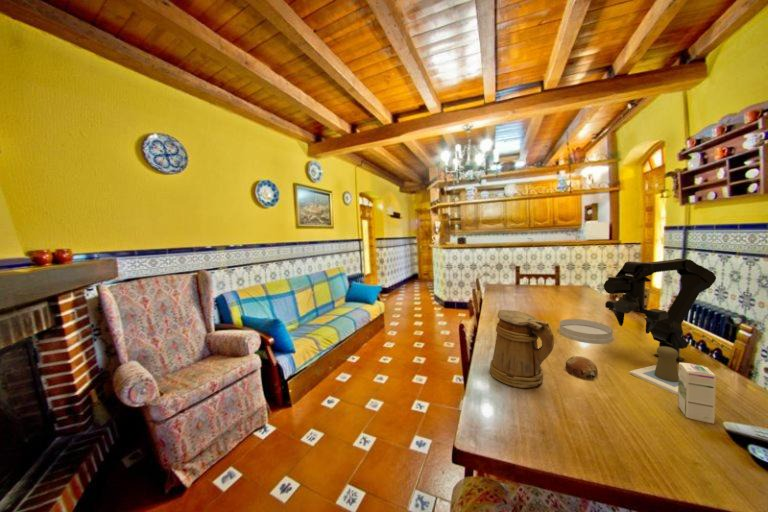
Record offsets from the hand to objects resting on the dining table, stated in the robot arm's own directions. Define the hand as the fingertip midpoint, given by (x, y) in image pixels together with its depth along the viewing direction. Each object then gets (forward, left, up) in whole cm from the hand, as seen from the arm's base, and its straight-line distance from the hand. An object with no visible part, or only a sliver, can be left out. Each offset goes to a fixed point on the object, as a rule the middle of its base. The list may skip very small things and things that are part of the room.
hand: (633, 329), depth 107 cm
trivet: (+6, +14, -13) cm, 20 cm away
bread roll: (+28, +1, -13) cm, 31 cm away
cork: (+6, +14, -12) cm, 19 cm away
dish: (-7, -25, -14) cm, 30 cm away
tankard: (+52, -4, -13) cm, 54 cm away
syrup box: (+20, +28, -13) cm, 37 cm away
